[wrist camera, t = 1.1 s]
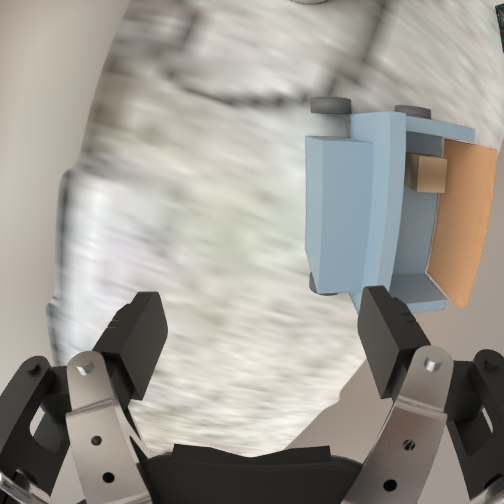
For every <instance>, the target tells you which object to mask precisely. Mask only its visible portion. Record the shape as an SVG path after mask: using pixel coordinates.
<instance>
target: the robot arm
mask: <svg viewBox="0 0 504 504" xmlns="http://www.w3.org/2000/svg"><path fill="white" fill-rule="evenodd" d="M292 1H295V2H299V3H304V4H317V3H322V2H324V1H327V0H292ZM167 334H168V326H167V321H166V318H165V314H164V310H163V306H162V302H161V298H160V295H159V293H158V292H138V293H137V294H136V296H135V297H134V299H133V300H132V302H131V303H130V304H126V305H125V306H124V307H122V308H121V309H120V310H118V311H117V313H116V314H115V316H114V317H113V319H112V321H111V322H110V323H109V325H108V328H106V329H105V331H104V332H103V334H102V335H101V337H100V338H99V340H98V342H97V343H96V345H95V346H94V348H93V349H92V351H85V352H81V353H79V354H77V355H76V356H74V357H73V358H72V359H71V360H70V361H69V363H68V365H67V366H59V367H51V365H50V364H49V362H48V360H47V359H46V358H45V357H43V356H34V357H31V358H29V359H27V360H26V361H24V363H22V365H21V366H20V367H19V369H18V370H17V372H16V373H15V375H14V376H13V378H12V379H11V380H10V382H9V383H8V385H7V387H6V388H5V390H4V391H3V393H2V394H1V396H0V504H52V502H51V500H50V496H51V493H52V490H53V488H54V485H55V482H56V479H57V477H58V474H59V471H60V469H61V466H62V464H63V461H64V458H65V456H66V453H67V451H68V449H69V446H70V444H71V448H72V452H73V456H74V461H75V465H76V469H77V472H78V476H79V479H80V483H81V486H82V490H83V493H84V496H85V499H84V500H82V501H81V502H79V503H77V504H417V501H418V499H419V497H420V494H421V492H422V490H423V488H424V485H425V483H426V480H427V478H428V475H429V473H430V470H431V468H432V465H433V462H434V459H435V456H436V454H437V451H438V448H439V444H440V441H441V438H442V435H443V431H444V427H445V424H446V425H447V428H448V431H449V433H450V436H451V439H452V442H453V445H454V448H455V451H456V453H457V457H458V460H459V463H460V466H461V470H462V473H463V476H464V480H465V483H466V486H467V491H468V494H469V498H470V501H469V503H468V504H504V357H503V356H502V355H501V354H499V353H498V352H496V351H493V350H489V349H484V350H481V351H479V352H478V353H477V354H476V355H475V358H474V359H473V361H472V362H471V361H454V360H453V359H452V357H451V355H450V354H449V353H448V352H447V351H446V350H444V349H442V348H440V347H437V346H432V345H431V344H430V342H429V340H428V339H427V337H426V335H425V334H424V332H423V331H422V329H421V327H420V325H419V324H418V322H416V319H415V317H414V316H413V315H412V314H411V311H410V310H409V308H408V306H407V305H406V304H405V303H404V302H402V301H401V300H400V299H398V298H397V297H391V296H390V294H389V292H388V291H387V289H386V288H385V286H384V285H377V286H365V287H364V288H363V291H362V298H361V304H360V310H359V316H358V334H359V337H360V340H361V343H362V345H363V348H364V351H365V354H366V356H367V359H368V362H369V365H370V368H371V371H372V374H373V377H374V380H375V383H376V386H377V389H378V392H379V395H380V398H381V399H385V398H391V397H392V400H393V405H392V407H391V409H390V411H389V414H388V416H387V418H386V420H385V422H384V424H383V426H382V428H381V430H380V432H379V434H378V436H377V438H376V440H375V442H374V444H373V446H372V448H371V449H370V451H369V453H368V454H367V456H366V458H365V460H364V461H363V463H362V464H361V463H359V462H357V461H355V460H352V459H348V458H346V457H341V456H336V455H331V454H330V446H320V447H308V448H292V449H288V450H283V451H279V452H275V453H271V454H267V455H262V456H257V457H244V456H240V455H236V454H232V453H228V452H225V451H221V450H218V449H214V448H211V447H200V446H190V445H182V444H174V448H173V452H172V453H168V454H162V455H158V456H155V457H152V455H151V454H150V452H149V450H148V449H147V447H146V445H145V442H144V440H143V438H142V436H141V433H140V431H139V429H138V426H137V424H136V422H135V419H134V417H133V414H132V412H131V409H130V407H129V406H128V405H129V402H130V400H131V399H134V400H141V401H142V400H143V397H144V395H145V392H146V389H147V387H148V384H149V382H150V379H151V376H152V374H153V371H154V369H155V366H156V364H157V361H158V359H159V356H160V354H161V351H162V349H163V346H164V344H165V341H166V339H167ZM39 406H40V407H41V408H42V410H43V411H44V412H45V414H44V416H43V418H42V420H41V422H40V424H39V426H38V428H37V430H36V432H35V434H34V436H32V435H31V433H30V423H31V421H32V419H33V417H34V415H35V413H36V412H37V410H38V408H39ZM484 407H485V409H486V412H487V414H488V416H489V418H490V420H491V422H492V426H493V432H492V433H491V430H490V428H489V426H488V423H487V421H486V419H485V417H484V414H483V412H482V410H483V408H484Z"/></svg>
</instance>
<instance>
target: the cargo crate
mask: <svg viewBox="0 0 504 504" xmlns="http://www.w3.org/2000/svg"><path fill="white" fill-rule="evenodd" d="M446 171H447V159H445V158H441V157H438V156H434V155H430V154H422V153H413V152H406V153H405V174H404V185H405V186H407V187H409V188H411V189H413V190H415V191H417V192H433V193H444V192H445V182H446Z"/></svg>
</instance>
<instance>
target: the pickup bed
mask: <svg viewBox="0 0 504 504" xmlns="http://www.w3.org/2000/svg"><path fill="white" fill-rule="evenodd" d="M310 100H311V113H320V114H350V123H346V138H345V137H326V136H305V148H306V234H305V250H306V254H307V257H308V261H309V264H310V268H311V271H312V272H311V273H310V282H309V287H310V289H311V290H312V291H313V292H315V293H317V294H320V295H325V296H330V295H336V294H338V293H344V292H349V295H350V297H351V299H352V302H353V304H354V306H355V309H356V311H357V313H358V316H359V310H360V304H361V298H362V291H363V288H364V287H365V286H377V285H384V286H385V288H386V289H387V291H388V292H389V294H390V296H391V297H397V298H398V299H400V300H401V301H402V302H404V303H405V304H406V305H407V306H408V308H409V310H410V311H411V313H420V312H428V311H436V310H443V309H444V308H445V305H446V301H447V299H446V298H445V296H444V295H443V294H442V293H441V292H440V290H439V289H438V288H437V287H436V286H435V285H434V283H433V282H432V281H431V280H430V279H429V278H428V276H427V275H426V274H425V268H426V264H427V259H428V254H429V249H430V243H431V238H432V232H433V226H434V219H435V212H436V204H437V196H438V193H433V192H417V191H415V190H413V189H411V188H409V187H407V186H405V185H404V174H405V153H406V152H413V153H422V154H430V155H434V156H438V157H441V137H447V138H453V139H458V140H464V141H469V142H474V129H473V128H469V127H464V126H460V125H455V124H451V123H446V122H441V121H436V120H431V110H430V109H426V108H421V107H415V106H404V105H397V106H395V112H393V111H383V112H370V113H359V114H351V100H350V99H346V98H337V97H315V98H311V99H310Z"/></svg>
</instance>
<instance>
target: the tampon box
mask: <svg viewBox="0 0 504 504" xmlns="http://www.w3.org/2000/svg"><path fill="white" fill-rule="evenodd" d="M495 8H496V13H497V17H498V22H499V28H500V33H501V40H502V47H503V52H504V4H501V5H497V6H495Z"/></svg>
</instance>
